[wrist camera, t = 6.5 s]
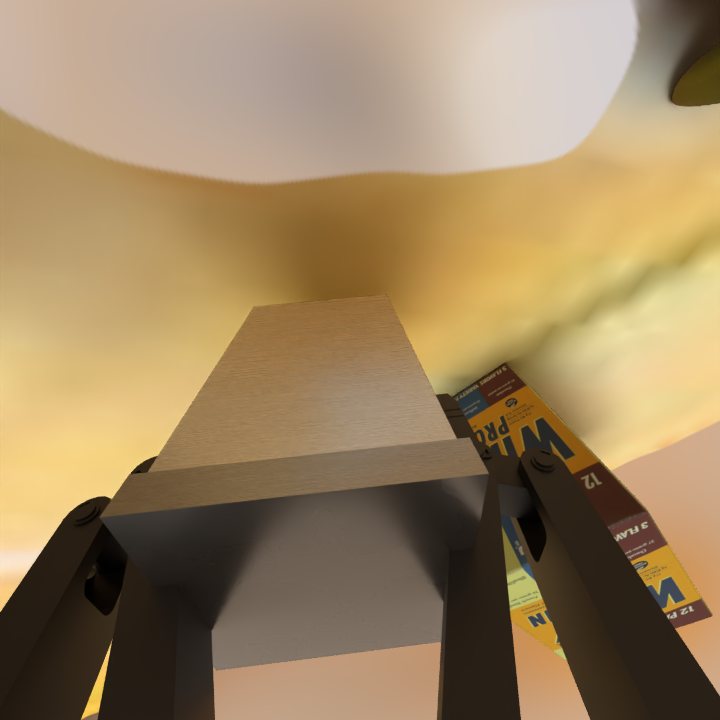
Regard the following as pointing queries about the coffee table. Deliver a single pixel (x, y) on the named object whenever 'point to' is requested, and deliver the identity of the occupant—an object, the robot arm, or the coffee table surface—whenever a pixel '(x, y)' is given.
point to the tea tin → (308, 490)
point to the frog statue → (700, 81)
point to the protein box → (604, 490)
